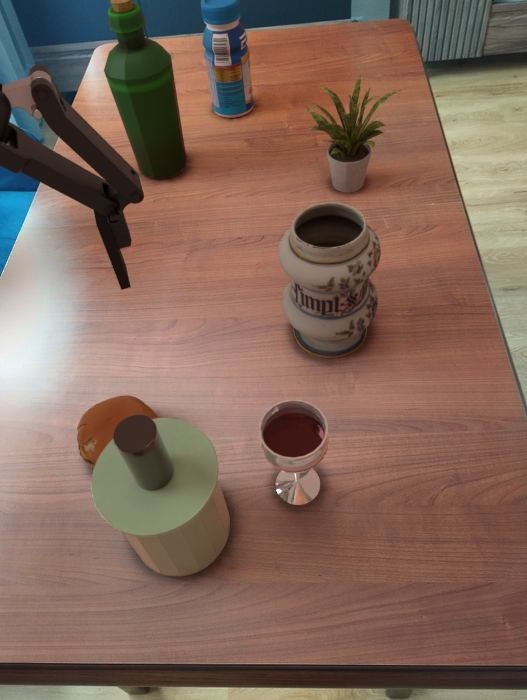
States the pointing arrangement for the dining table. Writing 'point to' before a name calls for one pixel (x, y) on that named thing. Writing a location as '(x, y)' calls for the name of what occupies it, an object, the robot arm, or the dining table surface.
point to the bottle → (145, 93)
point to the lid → (154, 476)
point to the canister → (188, 541)
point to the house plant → (349, 138)
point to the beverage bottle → (227, 58)
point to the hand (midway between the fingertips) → (37, 299)
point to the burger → (106, 424)
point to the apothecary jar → (330, 278)
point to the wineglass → (294, 447)
